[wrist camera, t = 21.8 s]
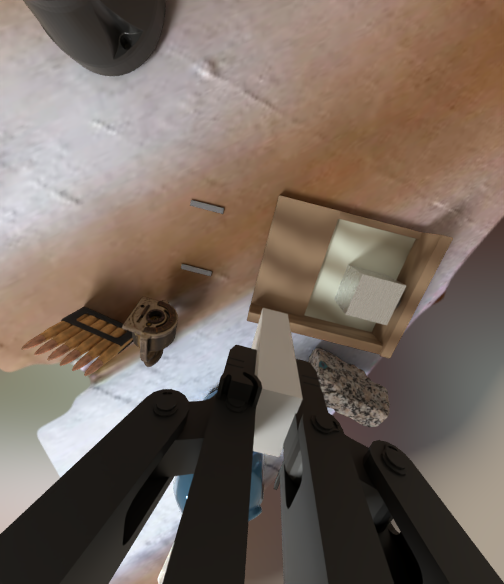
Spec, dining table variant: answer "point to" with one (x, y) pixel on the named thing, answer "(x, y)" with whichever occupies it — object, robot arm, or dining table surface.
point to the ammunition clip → (84, 339)
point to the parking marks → (211, 208)
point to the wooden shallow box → (340, 272)
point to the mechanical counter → (152, 328)
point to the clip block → (369, 294)
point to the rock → (350, 389)
